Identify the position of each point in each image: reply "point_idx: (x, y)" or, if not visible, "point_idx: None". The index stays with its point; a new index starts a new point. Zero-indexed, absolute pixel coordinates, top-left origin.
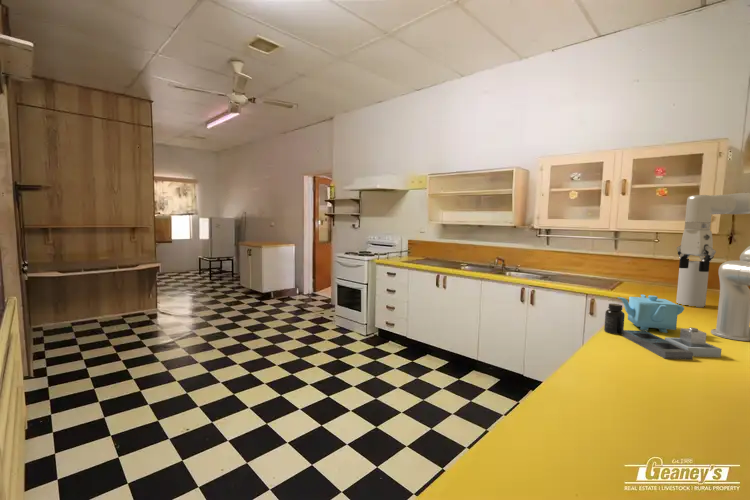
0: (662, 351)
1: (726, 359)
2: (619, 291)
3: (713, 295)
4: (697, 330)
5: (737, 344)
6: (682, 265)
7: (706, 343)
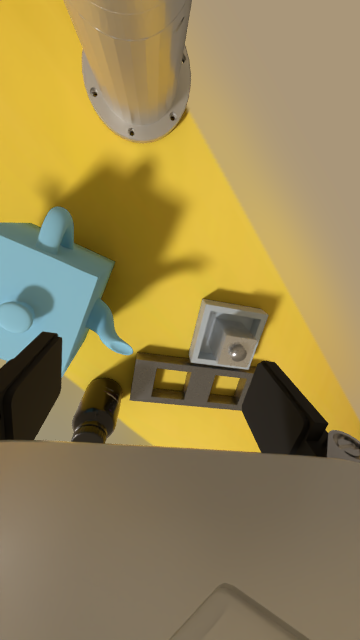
0: (241, 409)
1: (270, 308)
2: None
3: None
4: (245, 351)
5: (206, 167)
6: (52, 396)
7: (237, 312)
